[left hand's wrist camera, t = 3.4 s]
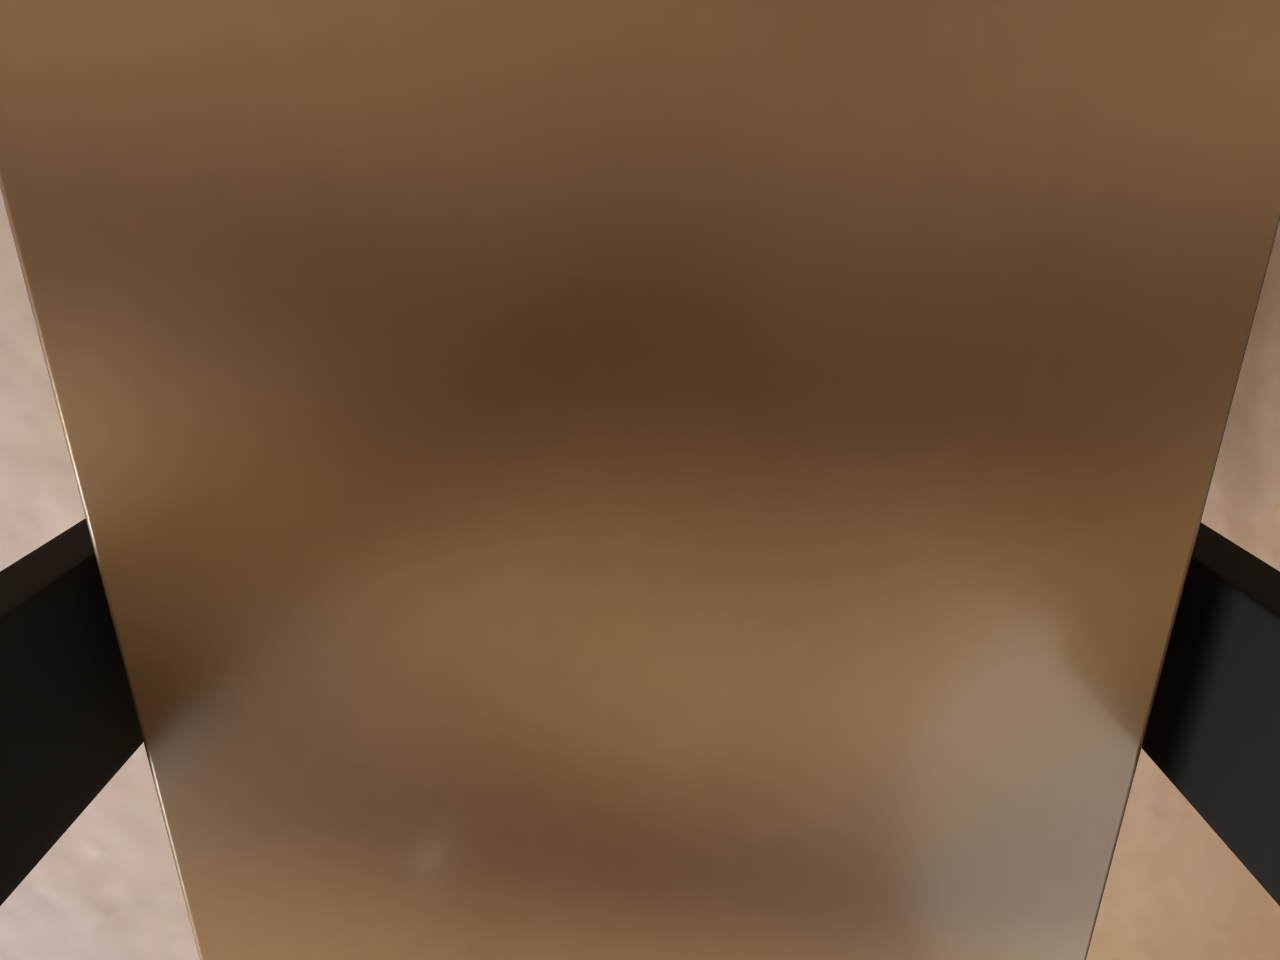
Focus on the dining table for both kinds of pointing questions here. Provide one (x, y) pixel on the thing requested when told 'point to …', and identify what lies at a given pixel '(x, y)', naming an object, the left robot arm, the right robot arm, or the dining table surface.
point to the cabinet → (642, 448)
